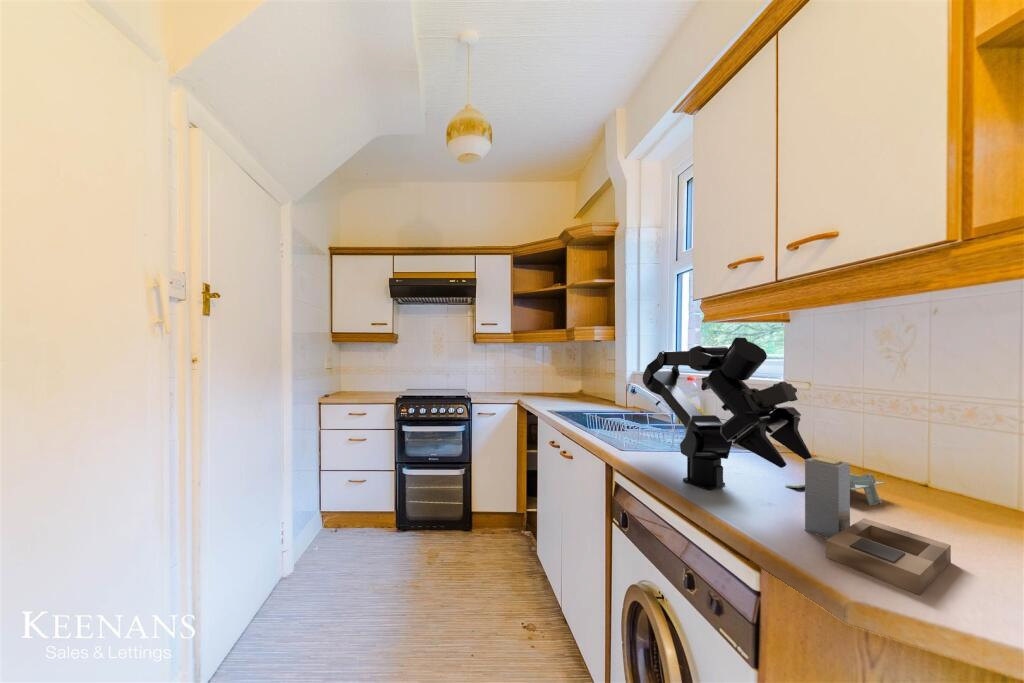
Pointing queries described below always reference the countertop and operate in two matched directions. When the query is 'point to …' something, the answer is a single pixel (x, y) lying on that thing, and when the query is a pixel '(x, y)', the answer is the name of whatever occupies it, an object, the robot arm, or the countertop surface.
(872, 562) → the plate with square hole
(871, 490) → the metal bracket
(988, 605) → the countertop surface
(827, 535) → the grey tall block
